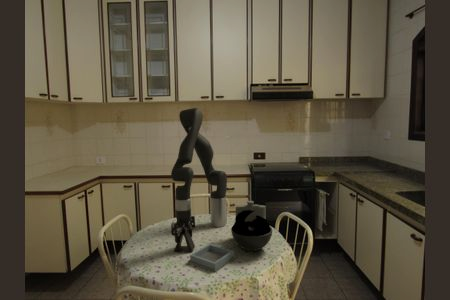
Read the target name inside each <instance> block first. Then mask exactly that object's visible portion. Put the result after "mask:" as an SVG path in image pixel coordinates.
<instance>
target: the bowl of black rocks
mask: <svg viewBox="0 0 450 300" xmlns="http://www.w3.org/2000/svg"><path fill="white" fill-rule="evenodd" d="M252 212H254V211H251V210H245V211H242V212H241V213H238V215H237V216H236V215H235V219H234V220H235V221H234V224H233V225H232V227H231V228H230V231H231V235H232V237H233V240H234V242H235V243H236V244H237V245H238V246H239V247H241V248H242V249H244V250H247V251H259V250H261V249H263V248H264V247H265V246H267V245H268V244H269V242H270V240H271V239H272V235H273V228H272V226H271V225H270V223H269V222H268V220H267V219H265V218H262V217H260V216H256V219H254V220H253V221H252V222H250V221H247V222H245V219H246V218H247V216H248V215H249V214H251V213H252Z"/></svg>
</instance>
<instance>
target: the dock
mask: <svg viewBox="0 0 450 300" xmlns="http://www.w3.org/2000/svg"><path fill="white" fill-rule="evenodd" d="M189 257H190V259H189V260H188V263H190V264H192V265H195V266H197V267H201V268H202V269H205V270H209V271H211V272H213V273H217V272H219V270H221V269H222V268H224V267H226V266H227V265H228V264H229V263H230V262H231V261H233V260H235V259H236V255H235V251H234V250H231V249H228V248H226V247H221V246H218V245H215V244H212V243H209V244H206V245H205V246H204V247H202V248H200V249H198V250H196V251H195V252H192V253H190V256H189Z"/></svg>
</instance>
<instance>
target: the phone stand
mask: <svg viewBox="0 0 450 300" xmlns="http://www.w3.org/2000/svg"><path fill="white" fill-rule="evenodd" d="M179 236H180V243H179V244H178V243H175V248H174V250H173V251H174V253H194V252H193V251H194V250H195V248H196V245H195V243H194V241H193V238H192V237H193V236H192V237H191V235H190V232H189V230H188V227H184V228H183V230H182V232H181V233H180V235H179ZM183 238H184V240H185V243H186V245H182V242H183Z"/></svg>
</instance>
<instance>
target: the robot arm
mask: <svg viewBox="0 0 450 300" xmlns="http://www.w3.org/2000/svg"><path fill="white" fill-rule="evenodd" d="M178 117H179V121H180V124H181V126H182V128H183V129H184V131H185V133H186V136H185V137H184V138H183V139H182V141H181V143H180V146H179V149H178V154H177V159H176V160H175V163H174V165H173V167H172V169H171V172H170V177H171V180H172V181H174V182H181V183H182V182H184V185H179V186H177V187H175V205H174V207H175V210H174V212H175V218H176V221H175V222H171V229H170V230H171V231H170V235H171V236H173V237H174V242H175V244H177V243H178V244H179V243H180V236H179V235H180V233H181V232H182V230H183V228H184V227H188V230H189V232H190V235H191V237H193V230H194V228H196V217H195V215H194V216H193V215H192V202H191V187H192V183H193V179H194V170H193V168H192V167H191V166H186V165H190V164H191V163H192V161H193V157H194V151H195V153H196V155H197V157H198V159H199V162H200V164H201V166H202V169H203V172H204V174H205V178H206V181H207V183H208V184H209V185H210V186H214V187H216V190H213V191H211V192H210V195H209V196H210V226H211V227H214V228H222V227H225V226H226V225H227V224H228V215H227V214H228V213H227V212H228V211H227V210H228V209H227V203H226V201H227V199H226V194H227V188H228V187H227V186H228V185H227V184H228V175H227V173H226V172H225V171H223V170H215V168H214V166H213V164H212V163H213V158H214V150H213V147H212V145H211V143H210V141H209V140H208V139H207V138H206V137H205V136H204V135H203V134H201V133H200V129H201V127H202V123H203V113H202V110H201V109H200V108H199V107H193V108H192V107H191V108H187V109H182V110H181V111H180V112H179V116H178Z"/></svg>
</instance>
